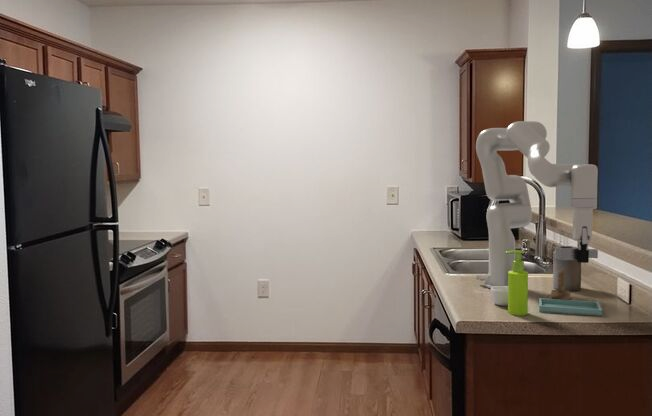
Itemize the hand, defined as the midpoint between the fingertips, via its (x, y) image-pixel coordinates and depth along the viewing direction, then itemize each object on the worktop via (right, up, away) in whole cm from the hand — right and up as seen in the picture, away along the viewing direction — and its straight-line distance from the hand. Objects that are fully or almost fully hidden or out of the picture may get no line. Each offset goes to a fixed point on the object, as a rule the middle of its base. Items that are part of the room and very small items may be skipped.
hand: (582, 261), depth 179 cm
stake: (-2, -15, +13) cm, 20 cm away
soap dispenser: (-21, -17, 0) cm, 27 cm away
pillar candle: (+8, -13, +32) cm, 35 cm away
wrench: (-2, +1, +1) cm, 2 cm away
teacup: (-22, -16, +12) cm, 30 cm away
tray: (-3, -16, +3) cm, 16 cm away
